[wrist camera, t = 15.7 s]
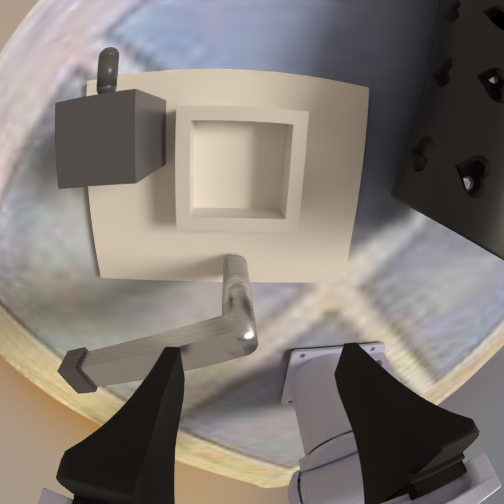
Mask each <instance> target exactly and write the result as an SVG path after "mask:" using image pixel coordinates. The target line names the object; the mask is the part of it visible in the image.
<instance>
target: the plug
mask: <svg viewBox="0 0 504 504" xmlns="http://www.w3.org/2000/svg"><path fill="white" fill-rule="evenodd" d="M118 63H119V52H118V50H117V49H116V48H113V47H108V48H105V49H104V50H103V51H102V52H101V53H100V55H99V60H98V72H97V87H96V90H97V93H98V94H96V95H91V96H86V97H81V98H76V99H71V100H67V101H62V102H58V103H55V143H56V163H57V176H58V186H59V189H63V188H74V187H86V186H101V185H117V184H136V183H138V182H139V181H141V180H142V179H144V178H145V177H147V176H148V175H150V174H151V173H153V172H154V171H156V170H158V169H159V168H161V167H162V166H164V165H166V100H164V99H162V98H159V97H157V96H154V95H151V94H149V93H146V92H143V91H141V90H138V89H130V90H122V91H116V89H117V76H118Z"/></svg>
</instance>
